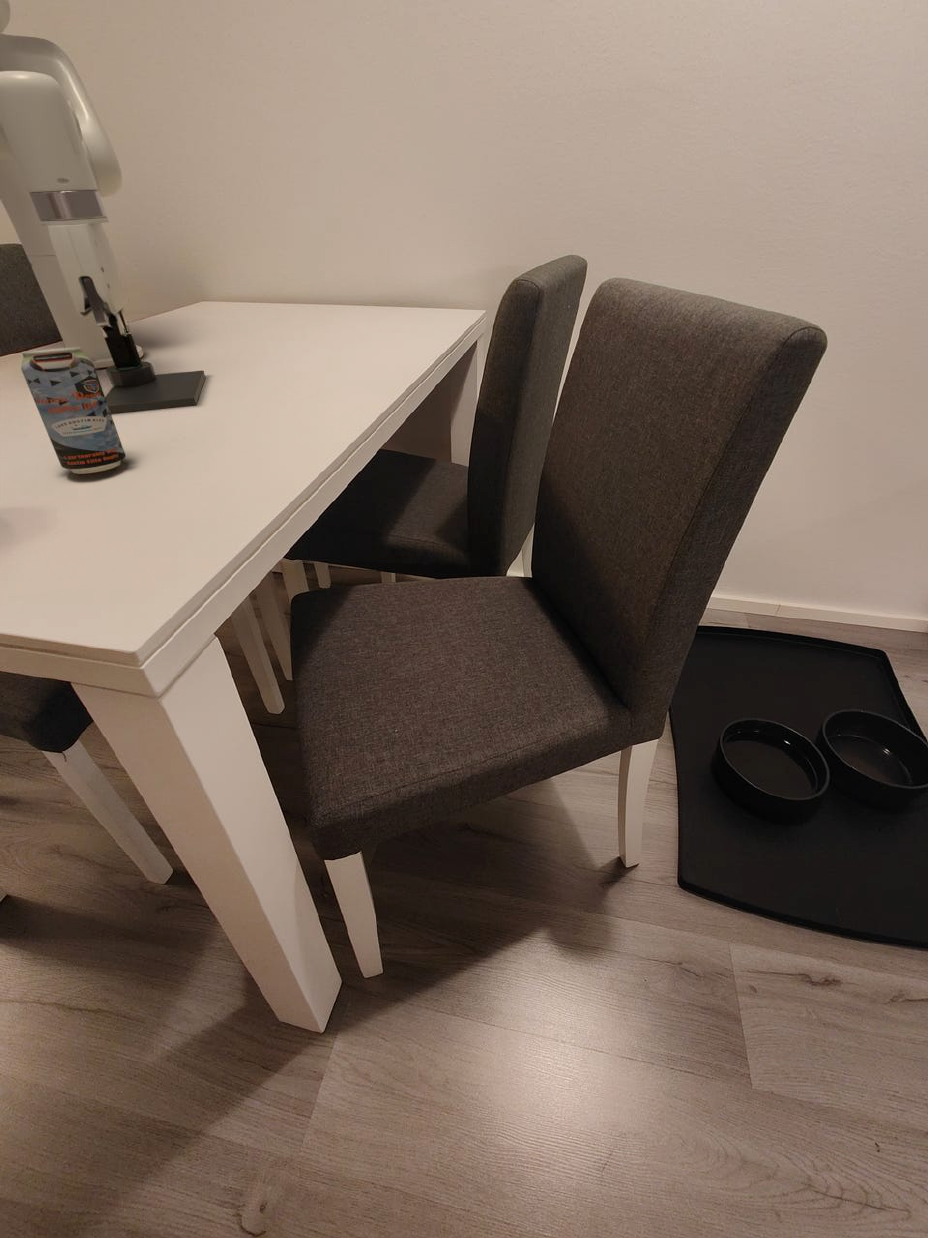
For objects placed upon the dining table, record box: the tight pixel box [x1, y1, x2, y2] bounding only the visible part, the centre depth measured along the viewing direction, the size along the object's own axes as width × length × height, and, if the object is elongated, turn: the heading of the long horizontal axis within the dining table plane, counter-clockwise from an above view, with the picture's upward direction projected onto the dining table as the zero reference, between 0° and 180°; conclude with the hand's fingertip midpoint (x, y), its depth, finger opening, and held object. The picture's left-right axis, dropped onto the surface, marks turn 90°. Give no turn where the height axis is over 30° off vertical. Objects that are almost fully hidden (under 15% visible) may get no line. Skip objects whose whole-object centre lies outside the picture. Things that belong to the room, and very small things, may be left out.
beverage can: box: [20, 347, 126, 475], centre depth 57 cm, size 6×7×12 cm
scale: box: [105, 360, 206, 415], centre depth 80 cm, size 14×12×3 cm
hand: (129, 365), depth 82 cm, fingers closed
